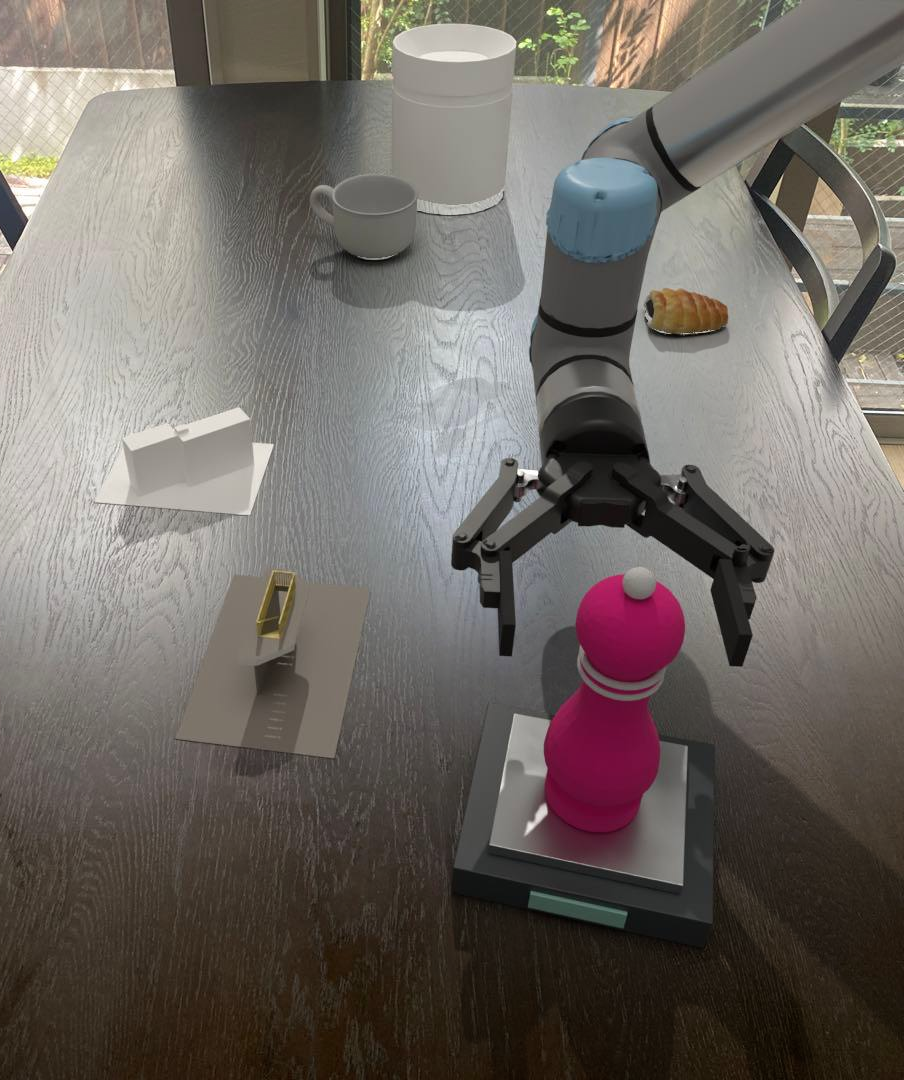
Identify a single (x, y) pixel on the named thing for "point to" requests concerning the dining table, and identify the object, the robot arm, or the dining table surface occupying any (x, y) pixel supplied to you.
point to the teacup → (370, 213)
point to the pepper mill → (613, 702)
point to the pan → (623, 855)
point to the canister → (452, 110)
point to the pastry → (684, 311)
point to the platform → (278, 666)
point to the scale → (580, 892)
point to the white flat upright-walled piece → (190, 466)
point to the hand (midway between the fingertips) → (623, 646)
